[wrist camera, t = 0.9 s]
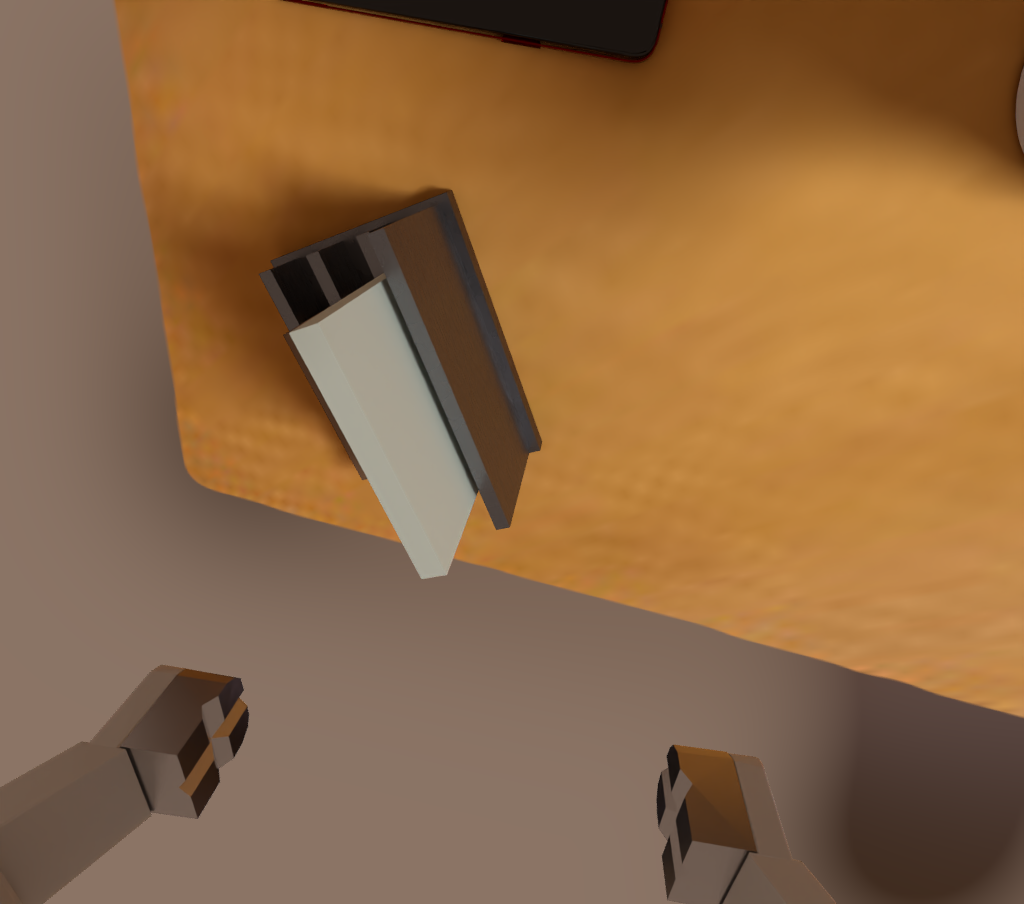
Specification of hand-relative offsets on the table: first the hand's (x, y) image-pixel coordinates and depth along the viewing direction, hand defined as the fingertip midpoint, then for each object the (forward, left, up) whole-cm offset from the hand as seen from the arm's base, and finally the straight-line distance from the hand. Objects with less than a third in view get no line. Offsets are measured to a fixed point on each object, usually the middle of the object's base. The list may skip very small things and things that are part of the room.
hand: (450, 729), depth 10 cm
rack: (+14, +2, -36) cm, 38 cm away
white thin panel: (+10, +2, -34) cm, 35 cm away
